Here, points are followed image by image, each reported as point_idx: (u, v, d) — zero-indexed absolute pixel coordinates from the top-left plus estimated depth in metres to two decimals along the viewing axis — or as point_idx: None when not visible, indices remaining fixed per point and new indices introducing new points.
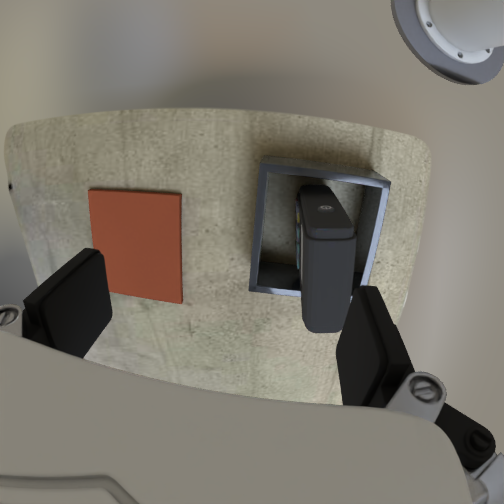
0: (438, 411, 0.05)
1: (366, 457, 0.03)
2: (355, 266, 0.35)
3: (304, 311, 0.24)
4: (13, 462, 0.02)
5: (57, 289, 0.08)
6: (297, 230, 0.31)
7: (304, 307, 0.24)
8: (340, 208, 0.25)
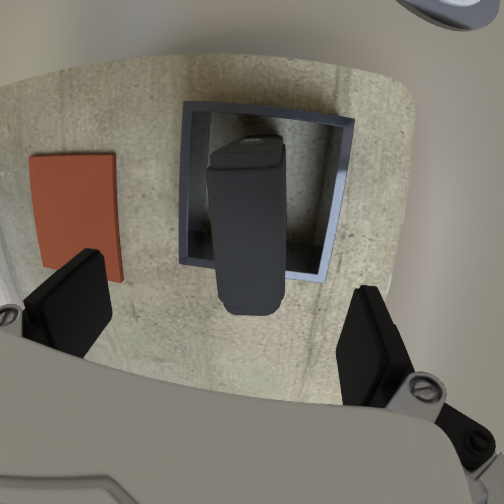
0: (438, 411, 0.05)
1: (366, 457, 0.03)
2: (318, 237, 0.28)
3: (217, 282, 0.17)
4: (13, 462, 0.02)
5: (57, 289, 0.08)
6: None
7: (216, 276, 0.17)
8: (274, 142, 0.18)
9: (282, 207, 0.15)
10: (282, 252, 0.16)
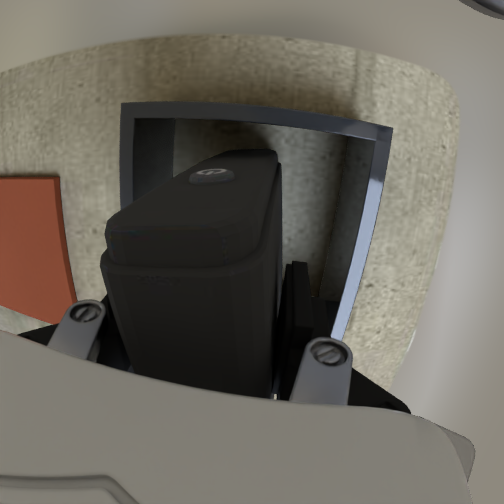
0: (349, 371, 0.07)
1: (366, 457, 0.03)
2: (326, 295, 0.20)
3: None
4: (13, 462, 0.02)
5: None
6: None
7: None
8: (256, 174, 0.10)
9: (263, 337, 0.07)
10: None
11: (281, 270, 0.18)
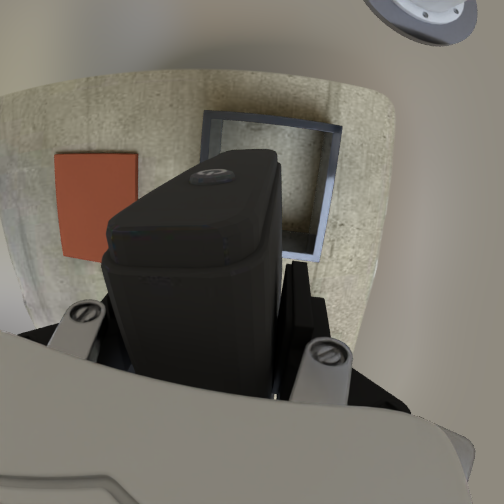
0: (349, 371, 0.07)
1: (366, 457, 0.03)
2: (313, 224, 0.33)
3: None
4: (13, 462, 0.02)
5: None
6: None
7: None
8: (256, 175, 0.10)
9: (264, 337, 0.07)
10: None
11: None
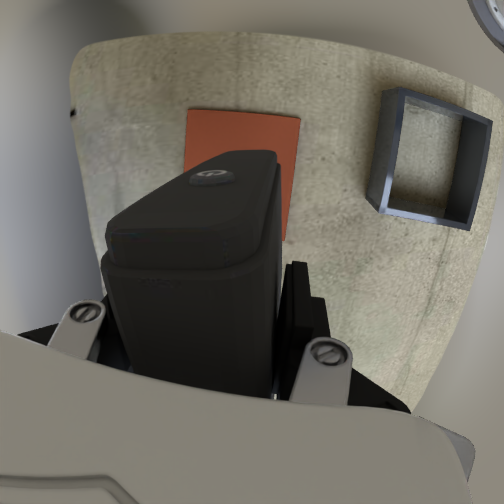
0: (349, 371, 0.07)
1: (366, 457, 0.03)
2: (458, 200, 0.32)
3: None
4: (13, 462, 0.02)
5: None
6: None
7: None
8: (256, 176, 0.10)
9: (264, 339, 0.07)
10: None
11: None
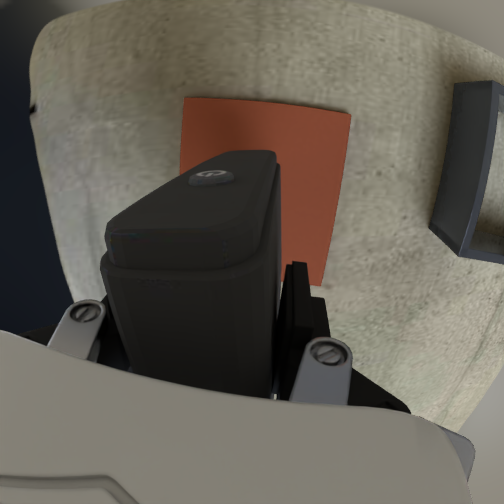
0: (350, 371, 0.07)
1: (366, 457, 0.03)
2: None
3: None
4: (13, 462, 0.02)
5: None
6: None
7: None
8: (255, 176, 0.10)
9: (264, 339, 0.07)
10: None
11: None
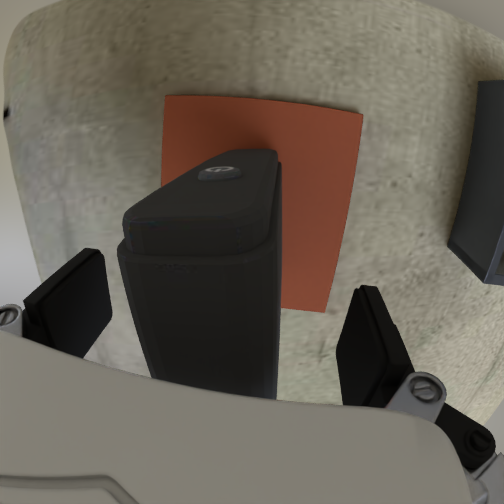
0: (438, 411, 0.05)
1: (366, 457, 0.03)
2: None
3: None
4: (13, 462, 0.02)
5: (57, 289, 0.08)
6: None
7: None
8: (261, 172, 0.10)
9: (272, 323, 0.07)
10: (271, 389, 0.08)
11: None
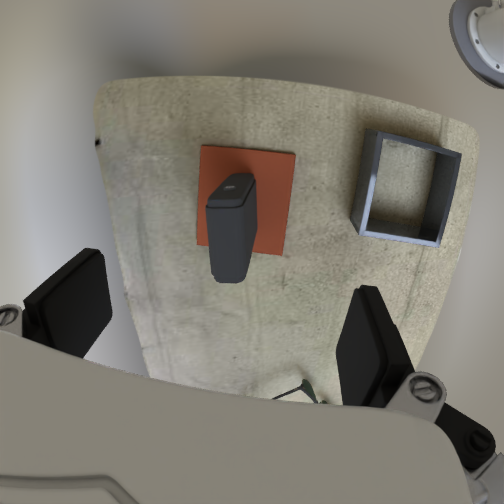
0: (438, 411, 0.05)
1: (366, 457, 0.03)
2: (430, 220, 0.40)
3: None
4: (13, 462, 0.02)
5: (57, 289, 0.08)
6: None
7: (210, 261, 0.32)
8: (242, 187, 0.33)
9: (243, 225, 0.30)
10: (244, 248, 0.31)
11: (256, 227, 0.42)
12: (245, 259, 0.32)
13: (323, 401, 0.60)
